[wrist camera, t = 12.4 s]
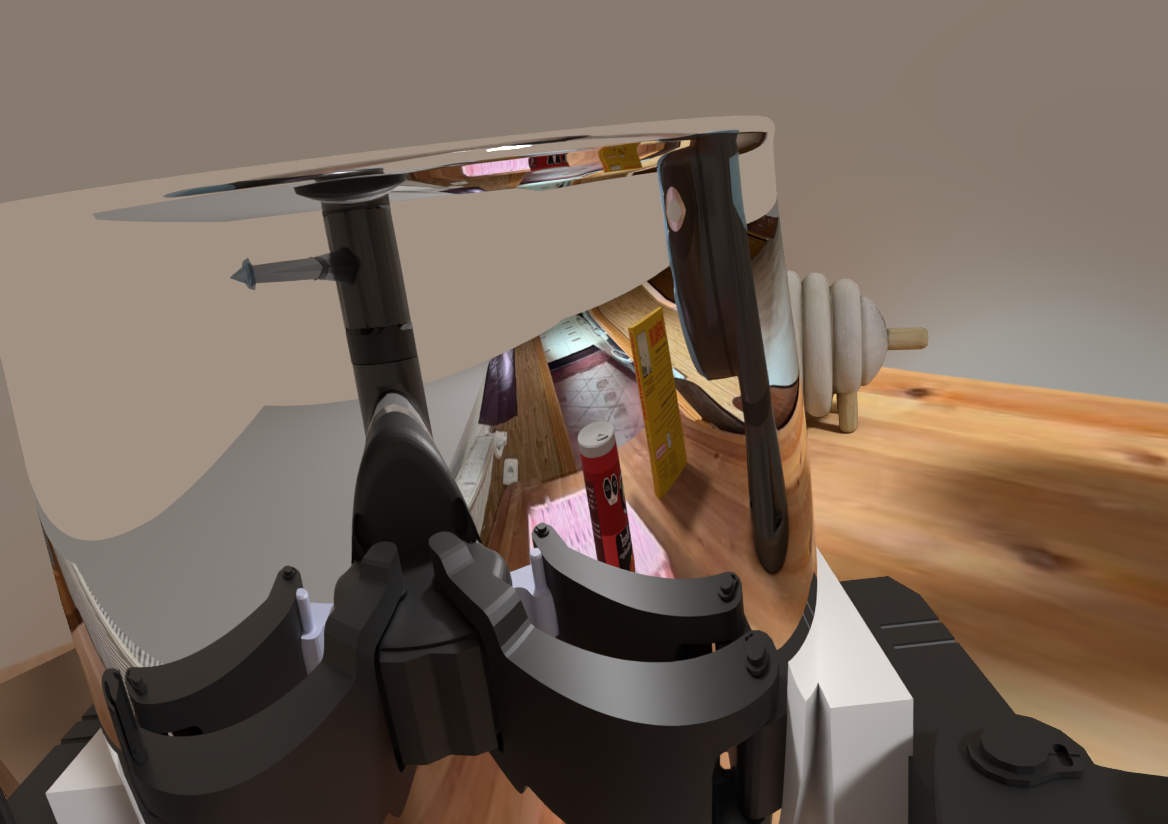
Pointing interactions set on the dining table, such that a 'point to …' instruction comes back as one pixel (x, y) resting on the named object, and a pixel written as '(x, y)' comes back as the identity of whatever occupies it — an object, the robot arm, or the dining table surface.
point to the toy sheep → (841, 343)
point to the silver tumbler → (431, 479)
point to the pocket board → (39, 715)
